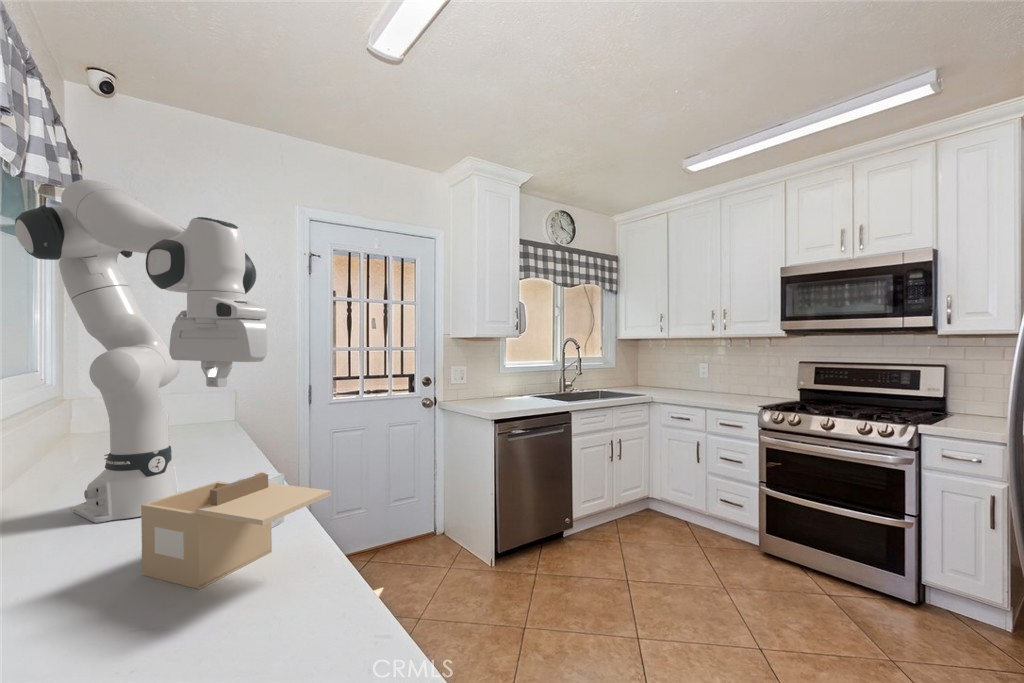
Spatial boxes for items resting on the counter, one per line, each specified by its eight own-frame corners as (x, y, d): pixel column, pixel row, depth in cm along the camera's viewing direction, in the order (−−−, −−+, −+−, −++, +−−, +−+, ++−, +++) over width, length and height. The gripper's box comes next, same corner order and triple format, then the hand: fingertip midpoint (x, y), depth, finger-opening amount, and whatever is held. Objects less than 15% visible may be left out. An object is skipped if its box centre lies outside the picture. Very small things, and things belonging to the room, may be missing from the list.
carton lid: (195, 513, 75) (195, 494, 75) (270, 487, 89) (269, 470, 88) (262, 525, 70) (262, 504, 70) (330, 495, 84) (330, 477, 83)
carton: (141, 575, 80) (140, 505, 80) (218, 541, 93) (217, 481, 93) (198, 589, 75) (197, 515, 75) (271, 551, 88) (270, 488, 88)
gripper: (158, 309, 84) (158, 386, 84) (242, 307, 77) (242, 390, 77) (193, 311, 90) (193, 383, 90) (274, 309, 83) (273, 387, 83)
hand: (216, 386), depth 83 cm, fingers closed
